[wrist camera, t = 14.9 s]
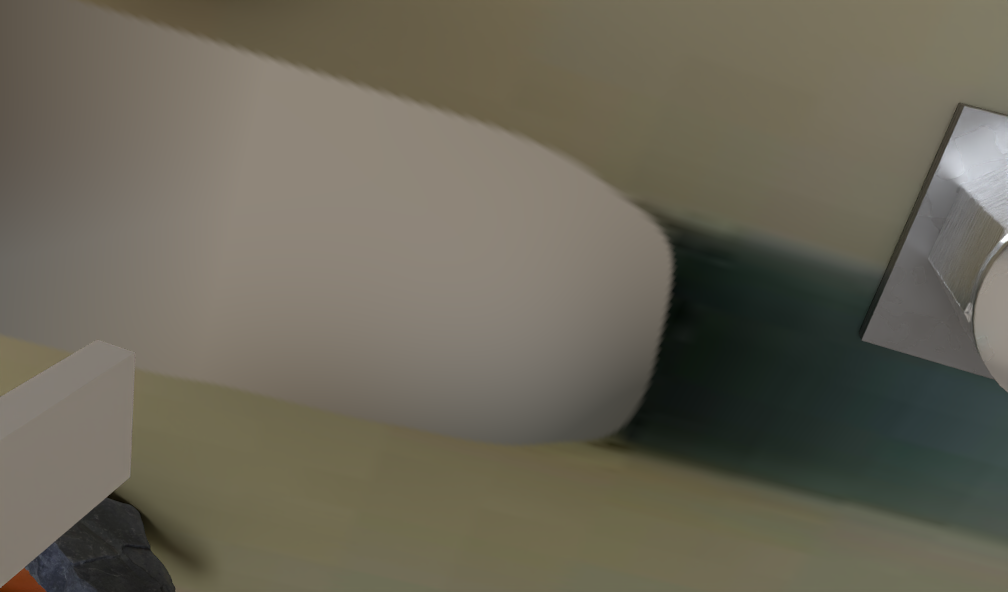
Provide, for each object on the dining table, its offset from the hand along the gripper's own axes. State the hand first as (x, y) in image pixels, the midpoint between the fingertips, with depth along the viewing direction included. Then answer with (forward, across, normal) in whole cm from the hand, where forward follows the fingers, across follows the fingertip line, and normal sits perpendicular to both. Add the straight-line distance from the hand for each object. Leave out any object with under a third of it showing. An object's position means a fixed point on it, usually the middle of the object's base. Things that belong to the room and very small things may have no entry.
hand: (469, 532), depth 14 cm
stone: (+32, -28, -34) cm, 54 cm away
